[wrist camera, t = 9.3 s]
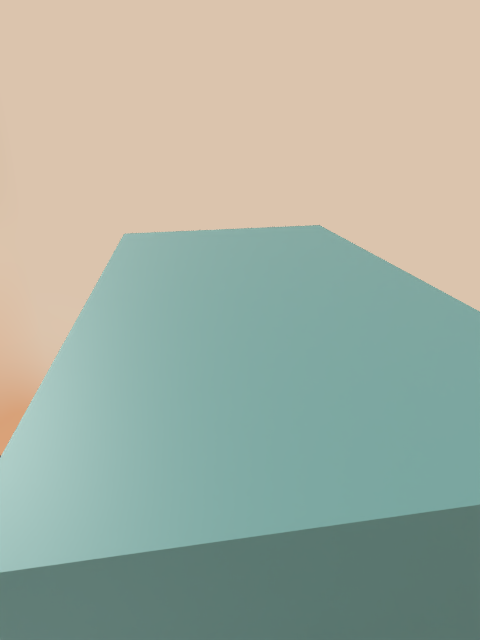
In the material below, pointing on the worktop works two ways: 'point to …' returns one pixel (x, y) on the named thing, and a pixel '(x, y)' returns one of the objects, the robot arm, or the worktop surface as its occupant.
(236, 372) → the teal carton
